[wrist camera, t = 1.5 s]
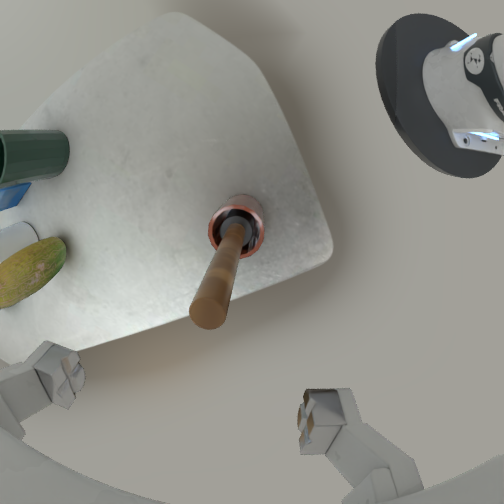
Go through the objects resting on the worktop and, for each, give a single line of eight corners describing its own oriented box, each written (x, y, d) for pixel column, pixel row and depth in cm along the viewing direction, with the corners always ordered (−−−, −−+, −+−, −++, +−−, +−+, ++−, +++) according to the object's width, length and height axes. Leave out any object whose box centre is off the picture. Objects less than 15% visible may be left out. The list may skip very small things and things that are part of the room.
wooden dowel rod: (256, 205, 33) (243, 288, 12) (253, 231, 34) (238, 345, 13) (229, 202, 33) (173, 280, 12) (227, 228, 34) (176, 336, 13)
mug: (18, 275, 39) (-16, 297, 29) (2, 237, 37) (-33, 255, 27) (47, 257, 37) (8, 281, 28) (30, 213, 35) (-12, 230, 25)
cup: (71, 127, 31) (8, 125, 18) (68, 176, 33) (6, 190, 21) (39, 132, 31) (-20, 135, 18) (38, 178, 33) (-21, 192, 21)
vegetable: (62, 221, 35) (-33, 268, 16) (85, 251, 37) (-5, 314, 18) (47, 244, 37) (-38, 295, 18) (68, 272, 38) (-12, 336, 19)
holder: (266, 196, 33) (266, 207, 26) (261, 238, 35) (261, 261, 28) (221, 192, 33) (209, 202, 26) (219, 234, 35) (207, 256, 28)
